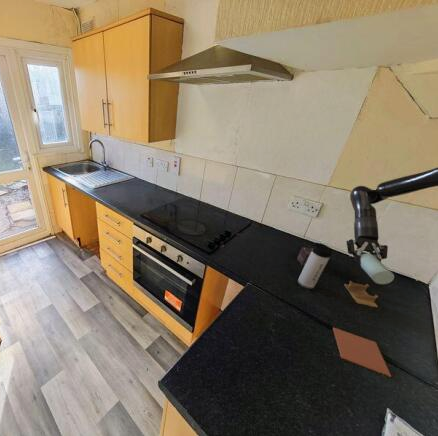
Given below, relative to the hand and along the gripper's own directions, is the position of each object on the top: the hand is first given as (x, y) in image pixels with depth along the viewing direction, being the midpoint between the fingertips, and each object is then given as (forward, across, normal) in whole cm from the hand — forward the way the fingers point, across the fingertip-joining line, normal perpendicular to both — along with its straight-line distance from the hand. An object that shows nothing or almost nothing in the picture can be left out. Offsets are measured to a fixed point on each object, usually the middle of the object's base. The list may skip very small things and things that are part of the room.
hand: (367, 266), depth 94 cm
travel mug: (+12, -21, +5) cm, 25 cm away
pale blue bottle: (+2, 0, 0) cm, 2 cm away
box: (0, -16, +17) cm, 24 cm away
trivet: (+33, -14, -16) cm, 39 cm away
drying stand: (+12, 0, +5) cm, 13 cm away
